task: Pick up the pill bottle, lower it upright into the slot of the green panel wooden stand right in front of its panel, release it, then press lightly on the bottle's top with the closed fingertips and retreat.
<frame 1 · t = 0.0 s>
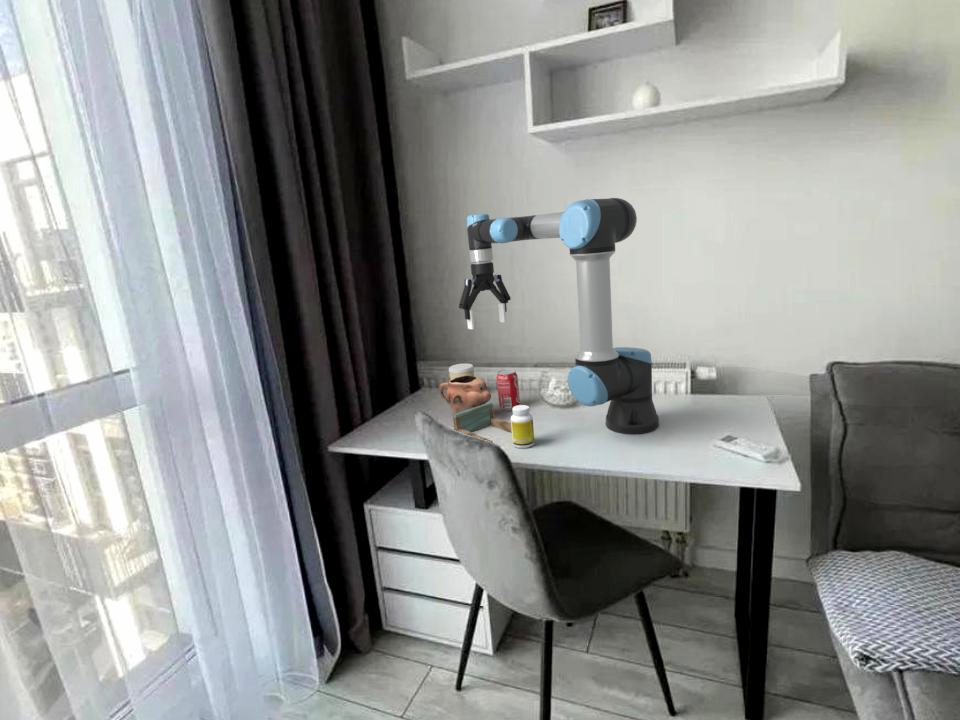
hand: (487, 325, 188), 28 cm above the table, fingers open, 13 cm apart
decorative planter: (466, 419, 182), on the table
soda can: (509, 408, 188), on the table
green panel wooden stand: (490, 435, 165), on the table
pill bottle: (523, 445, 156), on the table
coffee cup: (464, 398, 205), on the table
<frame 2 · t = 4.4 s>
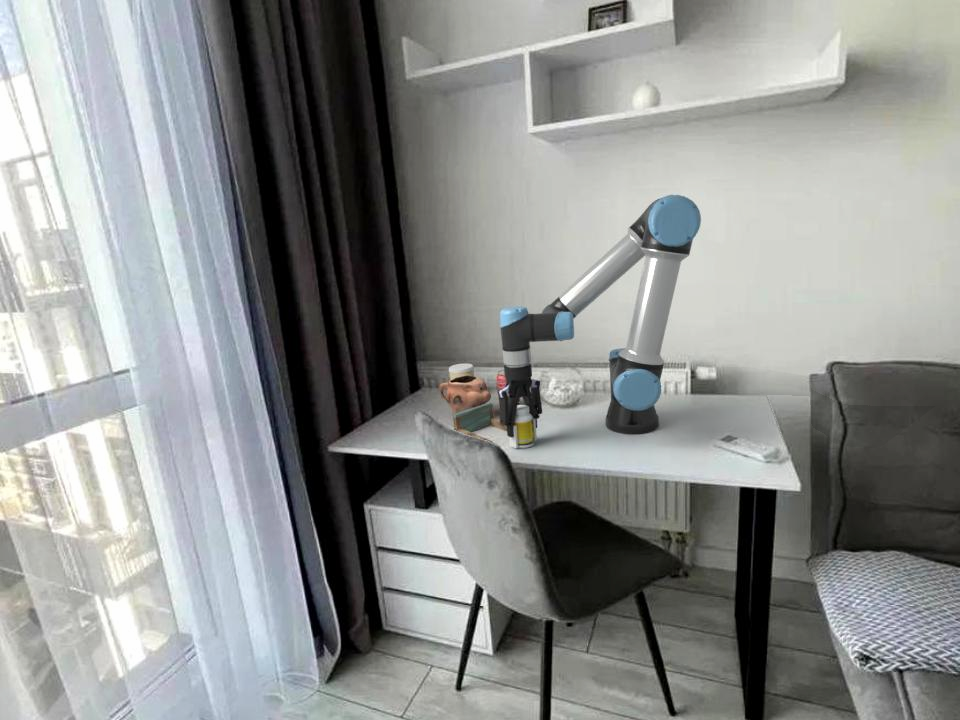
hand: (523, 443, 156), 0 cm above the table, fingers closed on pill bottle, 6 cm apart
pill bottle: (523, 445, 156), on the table, touching gripper
everything else where it was.
when the fingers open (2 cm above the table, at t = 8.1 s): pill bottle drops 2 cm, resting in green panel wooden stand.
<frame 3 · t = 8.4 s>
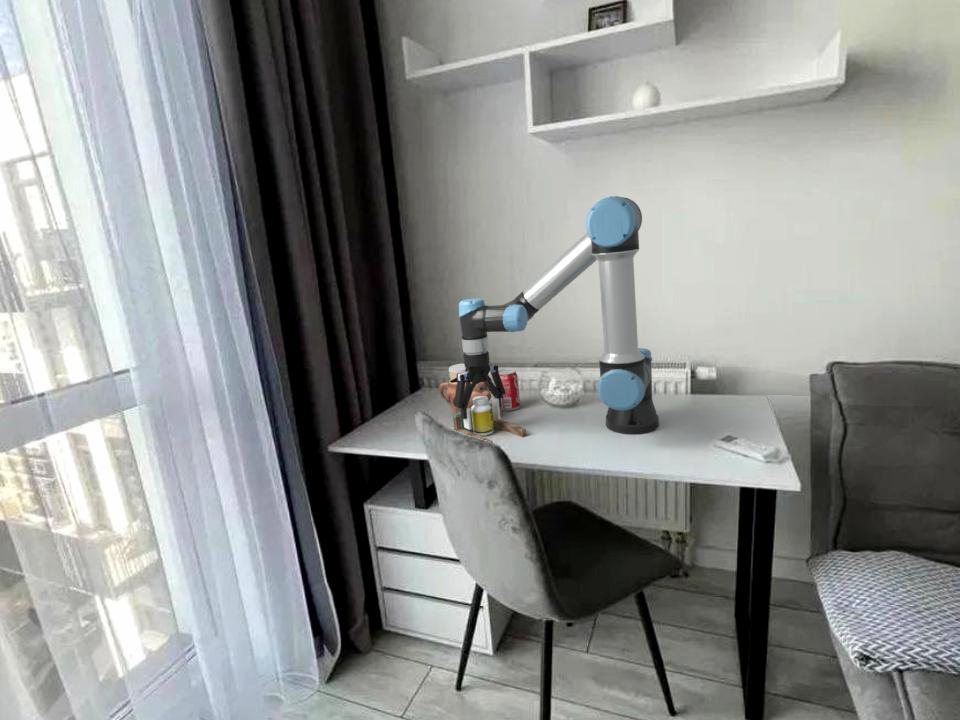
hand: (482, 423, 167), 3 cm above the table, fingers open, 10 cm apart
pill bottle: (483, 433, 168), resting in green panel wooden stand
everything else where it was.
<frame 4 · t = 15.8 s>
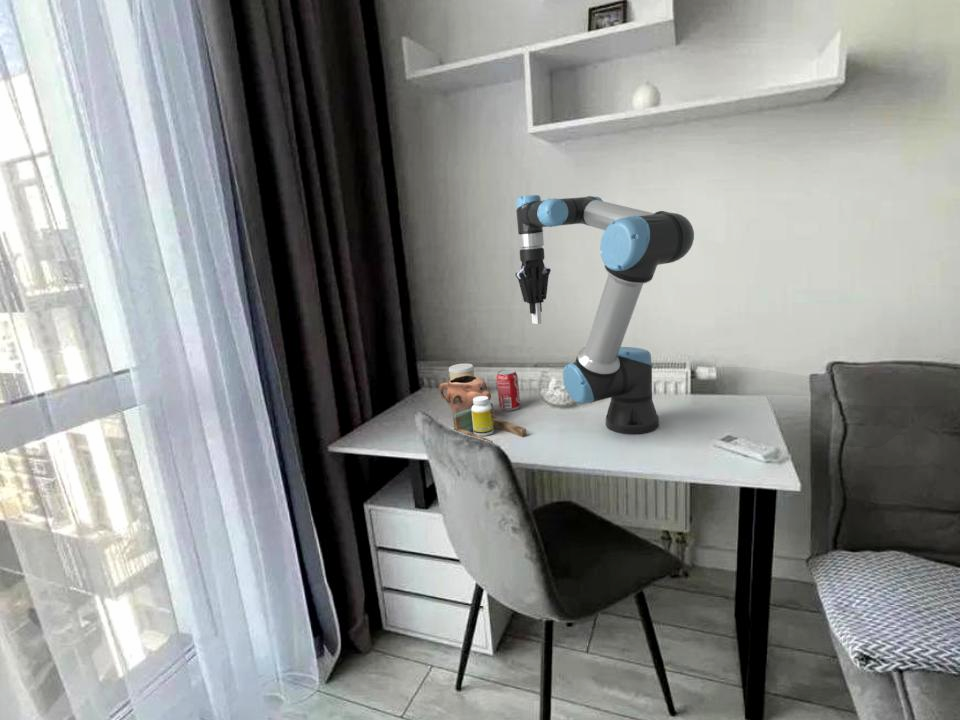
hand: (536, 323, 176), 29 cm above the table, fingers closed
nothing on the table moved.
at the end: pill bottle 0.2 cm from the target spot on the green panel wooden stand, point 0.0 cm above the green panel wooden stand's base; pill bottle tilted 0°; the gripper is holding nothing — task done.
